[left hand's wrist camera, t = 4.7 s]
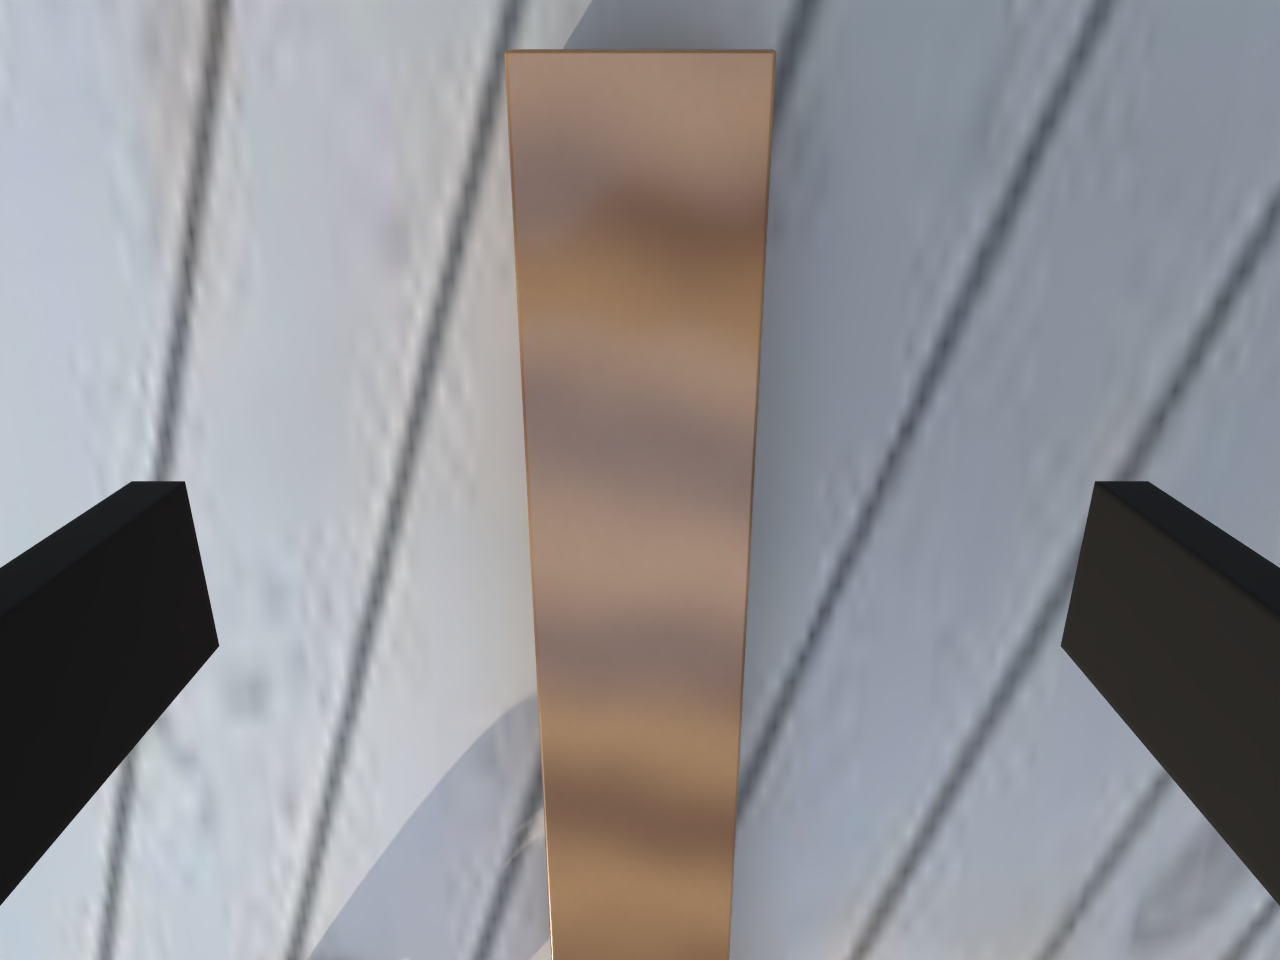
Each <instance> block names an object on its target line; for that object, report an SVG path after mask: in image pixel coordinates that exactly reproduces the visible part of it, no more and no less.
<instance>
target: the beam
mask: <svg viewBox="0 0 1280 960" xmlns="http://www.w3.org/2000/svg"><path fill="white" fill-rule="evenodd" d="M775 67H776V52H775V51H774V50H772V49H509V50H506V51H505V72H506V91H507V110H508V130H509V149H510V168H511V187H512V207H513V226H514V245H515V265H516V284H517V303H518V322H519V342H520V361H521V380H522V400H523V419H524V438H525V457H526V477H527V496H528V515H529V535H530V554H531V573H532V592H533V612H534V631H535V650H536V670H537V689H538V708H539V727H540V747H541V766H542V785H543V804H544V824H545V843H546V862H547V882H548V901H549V920H550V939H551V959H552V960H729V949H730V930H731V911H732V892H733V873H734V854H735V834H736V815H737V796H738V777H739V758H740V738H741V719H742V700H743V681H744V662H745V643H746V623H747V604H748V585H749V566H750V547H751V527H752V508H753V489H754V470H755V451H756V432H757V412H758V393H759V374H760V355H761V336H762V316H763V297H764V278H765V259H766V240H767V220H768V201H769V182H770V163H771V144H772V125H773V105H774V86H775Z"/></svg>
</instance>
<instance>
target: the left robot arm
mask: <svg viewBox="0 0 1280 960" xmlns="http://www.w3.org/2000/svg"><path fill="white" fill-rule="evenodd" d="M218 647H219V643H218V638H217V633H216V628H215V623H214V619H213V614H212V609H211V604H210V599H209V595H208V590H207V585H206V580H205V575H204V571H203V566H202V561H201V556H200V551H199V547H198V542H197V537H196V532H195V527H194V523H193V518H192V513H191V508H190V503H189V499H188V494H187V489H186V484H185V481H132V482H130V483H129V484H127V485H126V486H124V487H123V488H121V489H120V490H118V491H116V492H115V493H113V494H112V495H110V496H109V497H107V498H106V499H104V500H103V501H101V502H100V503H98V504H97V505H95V506H94V507H92V508H91V509H89V510H88V511H86V512H85V513H83V514H82V515H80V516H79V517H77V518H75V519H74V520H72V521H71V522H69V523H68V524H66V525H65V526H63V527H62V528H60V529H59V530H57V531H56V532H54V533H53V534H51V535H50V536H48V537H47V538H45V539H44V540H42V541H41V542H39V543H37V544H36V545H34V546H33V547H31V548H30V549H28V550H27V551H25V552H24V553H22V554H21V555H19V556H18V557H16V558H15V559H13V560H12V561H10V562H9V563H7V564H6V565H4V566H3V567H1V568H0V905H1V904H2V903H3V902H4V901H5V899H6V898H7V897H8V896H9V895H10V894H11V892H12V891H13V890H14V889H15V888H16V886H17V885H18V884H19V883H20V882H21V880H22V879H23V878H24V877H25V876H26V875H27V873H28V872H29V871H30V870H31V869H32V867H33V866H34V865H35V864H36V863H37V861H38V860H39V859H40V858H41V857H42V856H43V854H44V853H45V852H46V851H47V850H48V848H49V847H50V846H51V845H52V844H53V843H54V841H55V840H56V839H57V838H58V837H59V835H60V834H61V833H62V832H63V831H64V829H65V828H66V827H67V826H68V825H69V824H70V822H71V821H72V820H73V819H74V818H75V816H76V815H77V814H78V813H79V812H80V810H81V809H82V808H83V807H84V806H85V805H86V803H87V802H88V801H89V800H90V799H91V797H92V796H93V795H94V794H95V793H96V792H97V790H98V789H99V788H100V787H101V786H102V784H103V783H104V782H105V781H106V780H107V778H108V777H109V776H110V775H111V774H112V773H113V771H114V770H115V769H116V768H117V767H118V765H119V764H120V763H121V762H122V761H123V759H124V758H125V757H126V756H127V755H128V754H129V752H130V751H131V750H132V749H133V748H134V746H135V745H136V744H137V743H138V742H139V741H140V739H141V738H142V737H143V736H144V735H145V733H146V732H147V731H148V730H149V729H150V727H151V726H152V725H153V724H154V723H155V722H156V720H157V719H158V718H159V717H160V716H161V714H162V713H163V712H164V711H165V710H166V709H167V707H168V706H169V705H170V704H171V703H172V701H173V700H174V699H175V698H176V697H177V695H178V694H179V693H180V692H181V691H182V690H183V688H184V687H185V686H186V685H187V684H188V682H189V681H190V680H191V679H192V678H193V676H194V675H195V674H196V673H197V672H198V671H199V669H200V668H201V667H202V666H203V665H204V663H205V662H206V661H207V660H208V659H209V658H210V656H211V655H212V654H213V653H214V652H215V650H216V649H217V648H218ZM1061 647H1062V648H1063V649H1064V650H1065V652H1066V653H1067V654H1068V655H1069V656H1070V658H1071V659H1072V660H1073V661H1074V662H1075V663H1076V665H1077V666H1078V667H1079V668H1080V669H1081V671H1082V672H1083V673H1084V674H1085V675H1086V676H1087V678H1088V679H1089V680H1090V681H1091V682H1092V684H1093V685H1094V686H1095V687H1096V688H1097V690H1098V691H1099V692H1100V693H1101V694H1102V695H1103V697H1104V698H1105V699H1106V700H1107V701H1108V703H1109V704H1110V705H1111V706H1112V707H1113V709H1114V710H1115V711H1116V712H1117V713H1118V714H1119V716H1120V717H1121V718H1122V719H1123V720H1124V722H1125V723H1126V724H1127V725H1128V726H1129V727H1130V729H1131V730H1132V731H1133V732H1134V733H1135V735H1136V736H1137V737H1138V738H1139V739H1140V741H1141V742H1142V743H1143V744H1144V745H1145V746H1146V748H1147V749H1148V750H1149V751H1150V752H1151V754H1152V755H1153V756H1154V757H1155V758H1156V759H1157V761H1158V762H1159V763H1160V764H1161V765H1162V767H1163V768H1164V769H1165V770H1166V771H1167V773H1168V774H1169V775H1170V776H1171V777H1172V778H1173V780H1174V781H1175V782H1176V783H1177V784H1178V786H1179V787H1180V788H1181V789H1182V790H1183V792H1184V793H1185V794H1186V795H1187V796H1188V797H1189V799H1190V800H1191V801H1192V802H1193V803H1194V805H1195V806H1196V807H1197V808H1198V809H1199V810H1200V812H1201V813H1202V814H1203V815H1204V816H1205V818H1206V819H1207V820H1208V821H1209V822H1210V824H1211V825H1212V826H1213V827H1214V828H1215V829H1216V831H1217V832H1218V833H1219V834H1220V835H1221V837H1222V838H1223V839H1224V840H1225V841H1226V843H1227V844H1228V845H1229V846H1230V847H1231V848H1232V850H1233V851H1234V852H1235V853H1236V854H1237V856H1238V857H1239V858H1240V859H1241V860H1242V861H1243V863H1244V864H1245V865H1246V866H1247V867H1248V869H1249V870H1250V871H1251V872H1252V873H1253V875H1254V876H1255V877H1256V878H1257V879H1258V880H1259V882H1260V883H1261V884H1262V885H1263V886H1264V888H1265V889H1266V890H1267V891H1268V892H1269V894H1270V895H1271V896H1272V897H1273V898H1274V899H1275V901H1276V902H1277V903H1278V904H1279V905H1280V568H1279V567H1277V566H1276V565H1274V564H1273V563H1271V562H1270V561H1268V560H1267V559H1265V558H1264V557H1262V556H1261V555H1259V554H1258V553H1256V552H1255V551H1253V550H1252V549H1250V548H1249V547H1247V546H1246V545H1244V544H1243V543H1241V542H1239V541H1238V540H1236V539H1235V538H1233V537H1232V536H1230V535H1229V534H1227V533H1226V532H1224V531H1223V530H1221V529H1220V528H1218V527H1217V526H1215V525H1214V524H1212V523H1211V522H1209V521H1208V520H1206V519H1205V518H1203V517H1201V516H1200V515H1198V514H1197V513H1195V512H1194V511H1192V510H1191V509H1189V508H1188V507H1186V506H1185V505H1183V504H1182V503H1180V502H1179V501H1177V500H1176V499H1174V498H1173V497H1171V496H1170V495H1168V494H1167V493H1165V492H1164V491H1162V490H1160V489H1159V488H1157V487H1156V486H1154V485H1153V484H1151V483H1150V482H1148V481H1095V484H1094V489H1093V494H1092V499H1091V503H1090V508H1089V513H1088V518H1087V523H1086V527H1085V532H1084V537H1083V542H1082V547H1081V551H1080V556H1079V561H1078V566H1077V571H1076V575H1075V580H1074V585H1073V590H1072V595H1071V599H1070V604H1069V609H1068V614H1067V619H1066V623H1065V628H1064V633H1063V638H1062V643H1061Z"/></svg>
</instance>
